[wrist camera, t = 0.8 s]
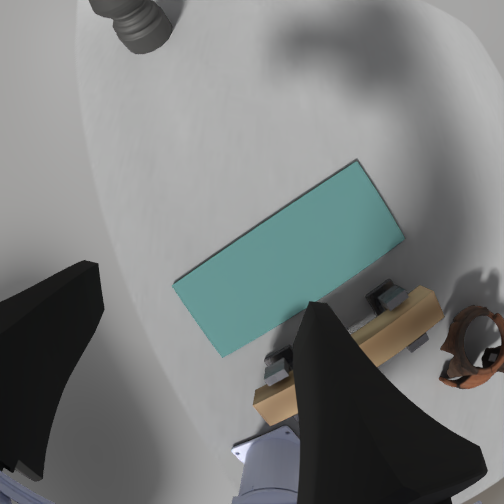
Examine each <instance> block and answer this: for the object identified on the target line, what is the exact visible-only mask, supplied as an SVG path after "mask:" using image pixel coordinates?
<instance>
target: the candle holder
mask: <svg viewBox="0 0 504 504" xmlns="http://www.w3.org/2000/svg"><path fill="white" fill-rule="evenodd" d="M89 2H90V4H91V7H92V9H93V11H94V12H95V13H96V14H97V15H100V16H103V17H106V18H111V19H113V20H114V21H113V28H114V30H115V32H116V33H117V36H118V38H119V39H120V40H121V42H122V43H123V44H124V45H125V46H126V47H127V48H128V49H129V50H130V51H131V52H133V53H135V54H146V53H149V52H152V51H154V50H156V49H157V48H159V47H161V46H162V45H163V44H164V43H165V42H166V41H167V40H168V39H169V37H170V35H171V33H172V25H171V23H170V22H169V20H168V18H167V17H166V15H165V13H164V12H163V10H162V9H161V8H160V7H159V6H157V4H156V3H155V2H154V1H152V0H89Z"/></svg>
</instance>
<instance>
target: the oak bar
mask: <svg viewBox="0 0 504 504" xmlns="http://www.w3.org/2000/svg"><path fill="white" fill-rule="evenodd" d="M408 296H409V298H407V299H406V300H405V301H403V302H402V303H401V304H399V305H398V306H397V307H395V308H394V309H393V310H391V311H389V310H388V309H387V310H386V311H385V312H383V313H382V314H380V315H379V316H378V317H376V318H375V319H373V320H372V321H370V322H369V323H368V324H366V325H365V326H363V327H362V328H360V329H359V330H357V331H356V332H354V333H353V334H351V336H352V338H353V339H354V340H355V341H356V343H357V344H358V345H359V347H360V348H361V349H362V350H363V352H364V353H365V354H366V355H367V356H368V358H369V359H370V360H371V361H372V362H373V363H374V365H375V366H376V367H378V366H380V365H381V364H383V363H384V362H386V361H387V360H389V359H390V358H391V357H393V356H394V355H396V354H397V353H398V352H400V351H401V350H403V349H404V348H405V347H407V346H408V345H409V344H411V343H412V342H414V341H415V340H416V339H417V338H419V337H420V336H421V335H423V334H424V333H425V332H426V331H428V330H429V329H430V328H432V327H433V326H434V325H435V324H436V323H438V322H439V321H440V320H441V319H442V318H444V317H445V316H444V314H443V311H442V309H441V307H440V305H439V302H438V300H437V298H436V296H435V293H434V291H432V290H430V289H427V288H425V287H423V286H420V285H419V286H418V287H417V288H415V289H414V290H413V291H411V292H410V293H409V294H408ZM253 406H254V408H255V409H256V410H257V411H258V412H259V414H260V415H261V416H262V417H263V418H264V420H265V421H266V422H267V423H268V424H269V425H270V426H272V425H274V424H276V423H278V422H281V421H283V420H285V419H287V418H289V417H291V416H293V415H295V414H297V413H298V409H297V400H296V392H295V383H294V375H293V370H292V371H290V372H289V376H288V377H286V378H284V379H282V380H280V381H278V382H276V383H275V384H273V385H271V386H268V384H266V385H264V386H262V387H260V388H258V389H256V390H255V396H254V401H253Z"/></svg>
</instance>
